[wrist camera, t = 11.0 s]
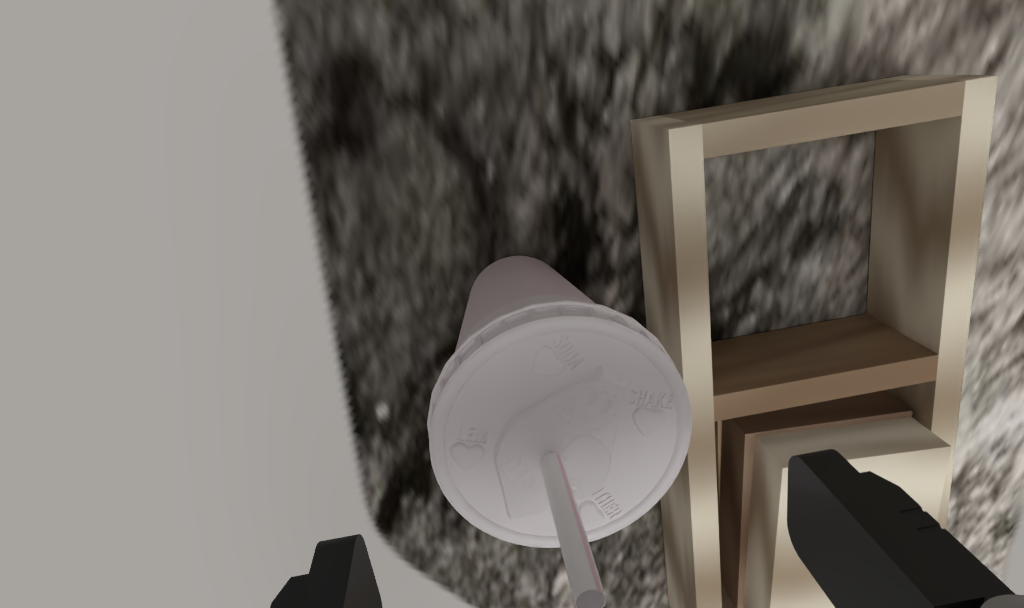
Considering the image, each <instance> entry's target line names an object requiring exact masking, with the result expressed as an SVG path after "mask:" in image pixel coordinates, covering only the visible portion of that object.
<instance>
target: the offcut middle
mask: <svg viewBox="0 0 1024 608" xmlns="http://www.w3.org/2000/svg"><path fill="white" fill-rule="evenodd" d="M912 412H913V411H912V410H911V409H910V408H908V407H907V406H905V405H904V404H903V403H901V402H900V401H899V400H897V399H896V398H894V397H893V396H892V395H890V394H889V393H887V392H886V391H885V390H882V391H877V392H871V393H866V394H861V395H855V396H850V397H845V398H839V399H834V400H828V401H823V402H818V403H812V404H807V405H802V406H796V407H791V408H786V409H780V410H775V411H770V412H764V413H759V414H753V415H748V416H743V417H737V418H732V419H727V420H722V433H721V467H720V502H719V548H720V572H721V583H722V584H723V586H724V588H725V590H726V592H727V594H728V595H729V597H730V599H731V601H732V603H733V604H734V606H735V608H744V606H743V600H744V586H745V572H746V558H747V544H748V530H749V516H750V502H751V488H752V474H753V460H754V446H755V436H761V435H769V434H778V433H786V432H794V431H802V430H810V429H818V428H826V427H834V426H842V425H850V424H858V423H866V422H874V421H882V420H891V419H899V418H907V417H912Z"/></svg>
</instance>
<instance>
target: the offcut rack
mask: <svg viewBox="0 0 1024 608" xmlns="http://www.w3.org/2000/svg"><path fill="white" fill-rule="evenodd" d="M997 79H998V75H903V76H897V77H891V78H885V79H879V80H873V81H866V82H860V83H854V84H848V85H842V86H836V87H830V88H824V89H818V90H811V91H805V92H799V93H793V94H787V95H781V96H775V97H769V98H763V99H757V100H750V101H744V102H738V103H732V104H726V105H720V106H714V107H708V108H702V109H695V110H689V111H683V112H677V113H671V114H665V115H659V116H653V117H647V118H641V119H634V120H630V123H631V136H632V148H633V161H634V173H635V186H636V199H637V211H638V224H639V236H640V249H641V262H642V274H643V287H644V300H645V312H646V325H647V330H648V331H649V332H650V333H652V334H653V335H654V336H655V337H657V338H658V340H659V341H660V343H661V344H662V346H663V347H664V349H665V350H666V352H667V353H668V355H669V356H670V358H671V359H672V361H673V362H674V364H675V367H676V368H677V370H678V372H679V374H680V375H681V377H682V379H683V382H684V384H685V386H686V389H687V392H688V396H689V400H690V405H691V413H692V431H691V438H690V444H689V448H688V451H687V455H686V457H685V460H684V463H683V465H682V467H681V469H680V471H679V473H678V475H677V477H676V478H675V480H674V482H673V483H672V485H671V486H670V488H669V489H668V490H667V492H666V493H665V494H664V495H663V496H662V498H661V499H660V501H661V514H662V526H663V539H664V552H665V564H666V577H667V589H668V602H669V605H670V607H671V608H735V606H734V604H733V603H732V601H731V599H730V597H729V595H728V594H727V592H726V590H725V588H724V586H723V584H722V583H721V572H720V548H719V524H718V499H717V475H716V450H715V426H714V422H716V421H721V420H727V419H732V418H737V417H743V416H748V415H753V414H759V413H764V412H770V411H775V410H780V409H786V408H791V407H796V406H802V405H807V404H812V403H818V402H823V401H828V400H834V399H839V398H845V397H850V396H855V395H861V394H866V393H871V392H877V391H882V390H885V391H886V392H887V393H889V394H890V395H892V396H893V397H894V398H896V399H897V400H899V401H900V402H901V403H903V404H904V405H905V406H907V407H908V408H910V409H911V410H912V411H913V412H912V418H914V419H915V420H916V421H918V422H919V423H920V424H922V425H923V426H924V427H926V428H927V429H929V430H930V431H931V432H933V433H934V434H935V435H937V436H938V437H939V438H941V439H942V440H944V441H945V442H946V443H948V444H949V445H950V446H952V447H951V452H950V457H949V462H948V468H947V473H946V478H945V483H944V488H943V493H942V498H941V503H940V508H939V513H938V518H937V522H938V523H939V524H940V527H941V528H942V529H946V523H947V514H948V506H949V497H950V488H951V480H952V471H953V462H954V453H955V445H956V436H957V427H958V419H959V410H960V401H961V392H962V384H963V375H964V366H965V358H966V349H967V340H968V331H969V323H970V314H971V305H972V297H973V288H974V279H975V270H976V262H977V253H978V244H979V236H980V227H981V218H982V209H983V201H984V192H985V183H986V175H987V166H988V157H989V149H990V140H991V131H992V122H993V114H994V105H995V96H996V88H997ZM873 130H876V142H875V161H874V180H873V199H872V218H871V237H870V256H869V275H868V294H867V313H866V314H862V315H857V316H851V317H846V318H840V319H835V320H829V321H824V322H818V323H812V324H807V325H801V326H796V327H790V328H785V329H779V330H774V331H768V332H763V333H757V334H752V335H746V336H741V337H735V338H729V339H724V340H718V341H713V342H711V328H710V304H709V279H708V255H707V231H706V206H705V182H704V159H706V158H712V157H718V156H724V155H730V154H736V153H742V152H748V151H754V150H760V149H766V148H772V147H778V146H784V145H790V144H796V143H802V142H808V141H814V140H820V139H826V138H831V137H837V136H843V135H849V134H855V133H861V132H867V131H873Z"/></svg>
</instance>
